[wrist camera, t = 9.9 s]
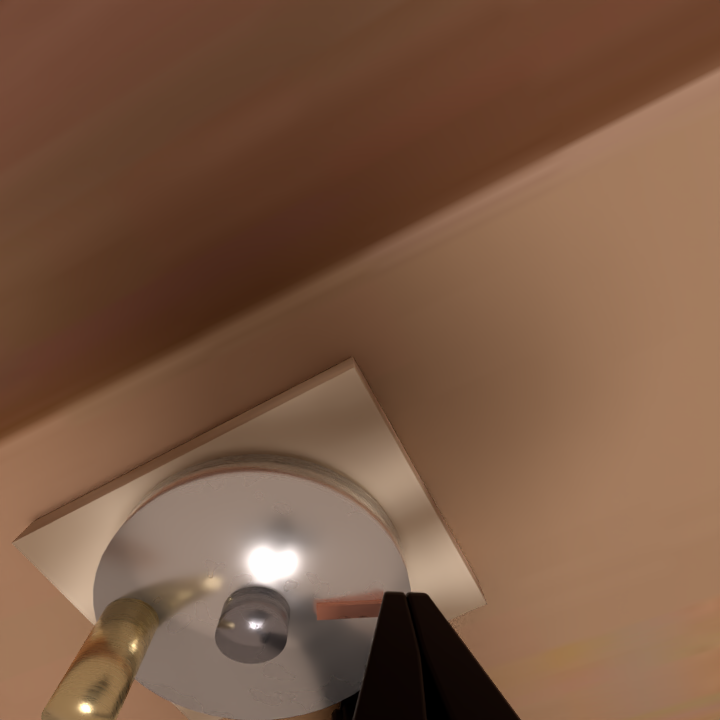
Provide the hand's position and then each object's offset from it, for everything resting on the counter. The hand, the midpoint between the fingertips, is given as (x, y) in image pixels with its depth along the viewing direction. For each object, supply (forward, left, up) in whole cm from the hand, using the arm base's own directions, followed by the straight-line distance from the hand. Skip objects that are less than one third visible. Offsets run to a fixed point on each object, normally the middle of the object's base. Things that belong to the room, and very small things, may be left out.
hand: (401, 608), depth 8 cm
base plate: (+4, +10, -12) cm, 16 cm away
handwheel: (+4, +10, -10) cm, 15 cm away
